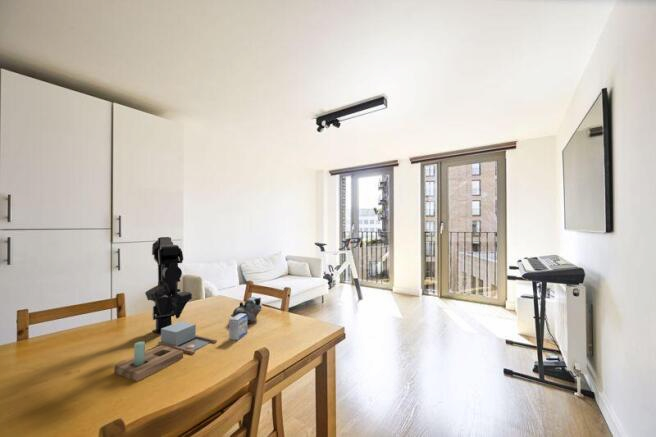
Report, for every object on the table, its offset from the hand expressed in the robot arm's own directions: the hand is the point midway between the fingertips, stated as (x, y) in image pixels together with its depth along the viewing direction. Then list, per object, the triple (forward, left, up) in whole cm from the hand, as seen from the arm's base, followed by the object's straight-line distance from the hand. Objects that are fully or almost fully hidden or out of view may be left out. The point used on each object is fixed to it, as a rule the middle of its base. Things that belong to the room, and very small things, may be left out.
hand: (169, 316), depth 109 cm
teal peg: (+7, -16, -12) cm, 21 cm away
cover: (-1, +5, -12) cm, 13 cm away
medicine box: (+18, +19, -12) cm, 29 cm away
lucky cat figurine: (+8, +36, -12) cm, 39 cm away
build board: (+7, -12, -12) cm, 18 cm away
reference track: (+4, +5, -12) cm, 14 cm away
